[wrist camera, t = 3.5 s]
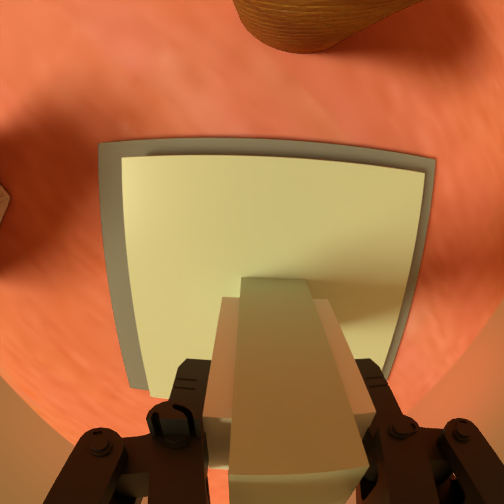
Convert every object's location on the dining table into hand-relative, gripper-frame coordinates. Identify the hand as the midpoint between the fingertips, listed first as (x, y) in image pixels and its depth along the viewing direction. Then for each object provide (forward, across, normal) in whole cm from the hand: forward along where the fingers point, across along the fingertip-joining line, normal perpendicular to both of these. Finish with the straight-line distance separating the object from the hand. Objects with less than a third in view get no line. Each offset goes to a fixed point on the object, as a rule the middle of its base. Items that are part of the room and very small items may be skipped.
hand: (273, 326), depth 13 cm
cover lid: (+3, 0, 0) cm, 3 cm away
